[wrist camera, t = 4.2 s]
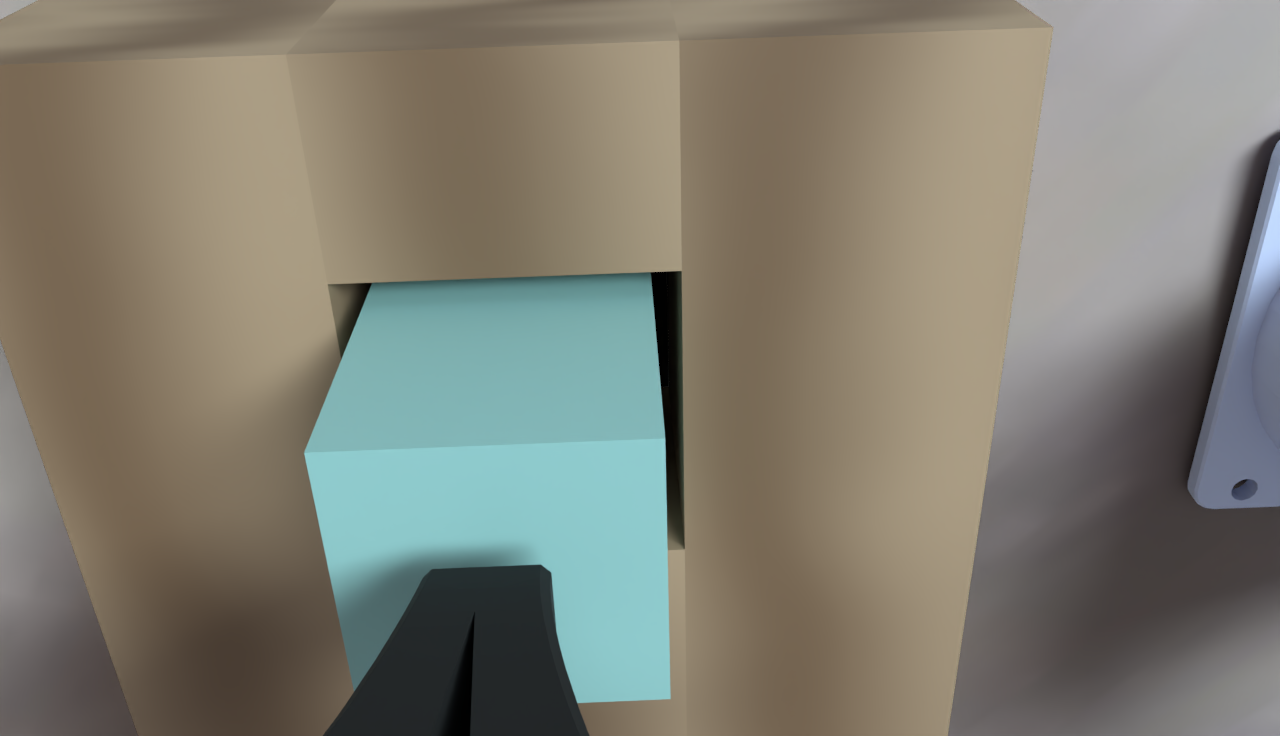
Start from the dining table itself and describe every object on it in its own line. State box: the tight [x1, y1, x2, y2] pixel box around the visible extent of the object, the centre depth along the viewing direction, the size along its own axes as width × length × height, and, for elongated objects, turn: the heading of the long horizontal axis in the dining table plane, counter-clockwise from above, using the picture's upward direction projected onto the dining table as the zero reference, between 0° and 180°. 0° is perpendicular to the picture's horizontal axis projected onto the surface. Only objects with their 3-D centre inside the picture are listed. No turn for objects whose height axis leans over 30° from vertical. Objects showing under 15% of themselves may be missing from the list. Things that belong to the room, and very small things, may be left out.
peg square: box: [304, 272, 671, 703], centre depth 16 cm, size 4×4×5 cm
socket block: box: [0, 0, 1053, 736], centre depth 22 cm, size 14×22×5 cm, turn 2°
